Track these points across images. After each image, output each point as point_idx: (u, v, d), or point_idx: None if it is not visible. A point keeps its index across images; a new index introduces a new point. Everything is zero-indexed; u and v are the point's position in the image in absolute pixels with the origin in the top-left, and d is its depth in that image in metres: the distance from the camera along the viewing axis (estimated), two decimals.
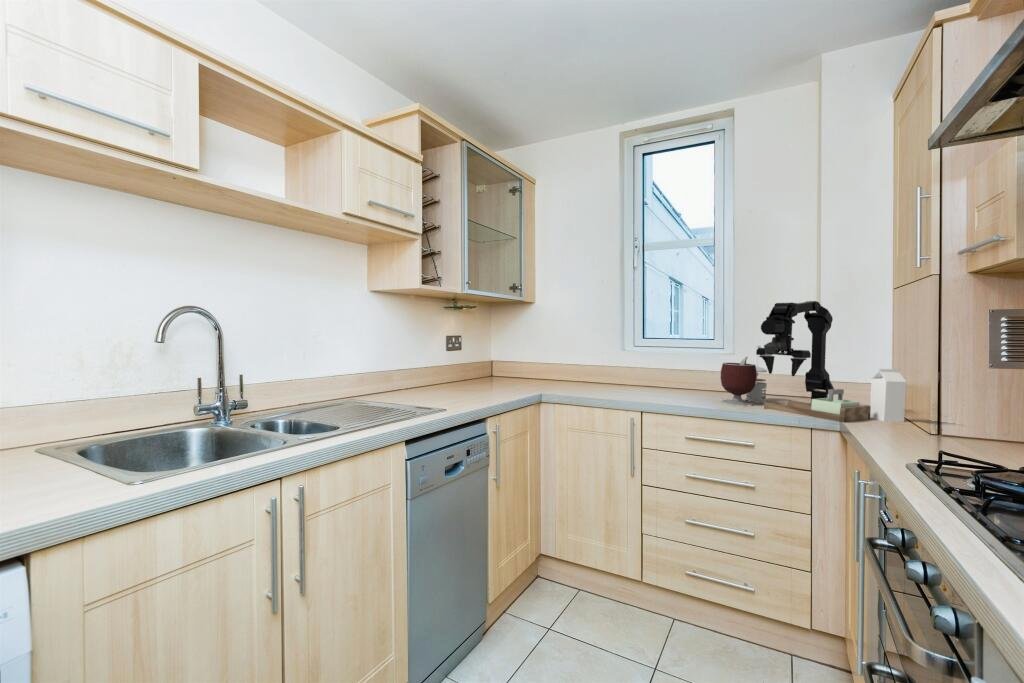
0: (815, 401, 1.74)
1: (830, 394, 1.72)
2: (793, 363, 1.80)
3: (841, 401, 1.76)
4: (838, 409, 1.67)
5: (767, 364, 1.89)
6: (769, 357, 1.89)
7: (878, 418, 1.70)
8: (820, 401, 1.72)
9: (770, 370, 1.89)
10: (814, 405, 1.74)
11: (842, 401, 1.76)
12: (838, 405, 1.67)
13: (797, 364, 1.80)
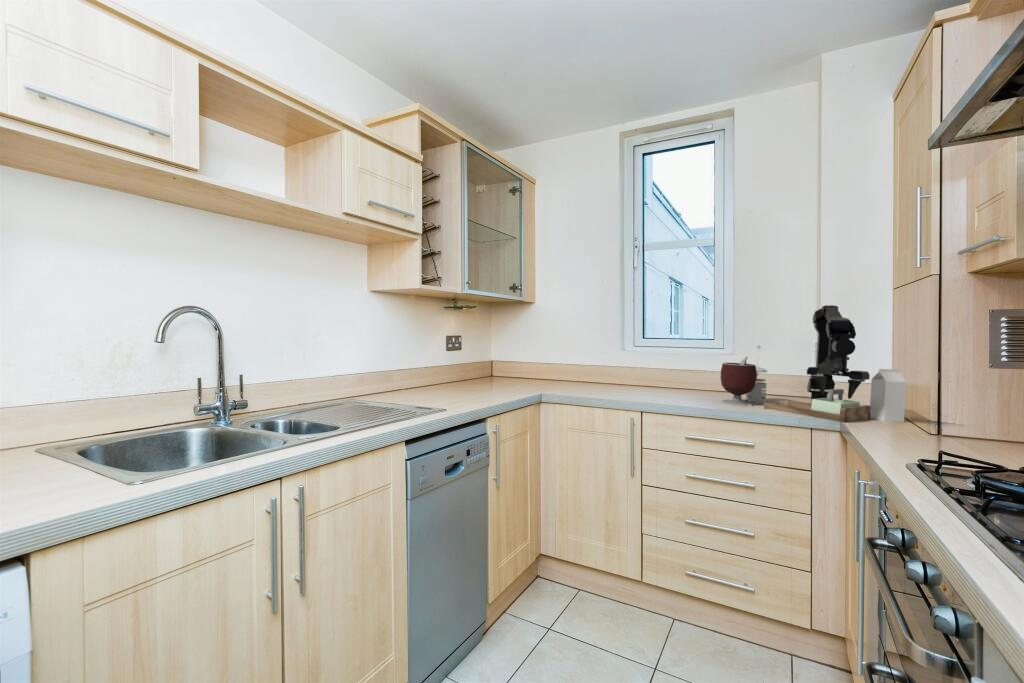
0: (815, 401, 1.74)
1: (830, 394, 1.72)
2: (850, 385, 1.68)
3: (841, 401, 1.76)
4: (838, 409, 1.67)
5: (819, 385, 1.77)
6: (821, 377, 1.77)
7: (878, 418, 1.70)
8: (820, 401, 1.72)
9: (822, 391, 1.77)
10: (814, 405, 1.74)
11: (842, 401, 1.76)
12: (838, 405, 1.67)
13: (854, 386, 1.68)
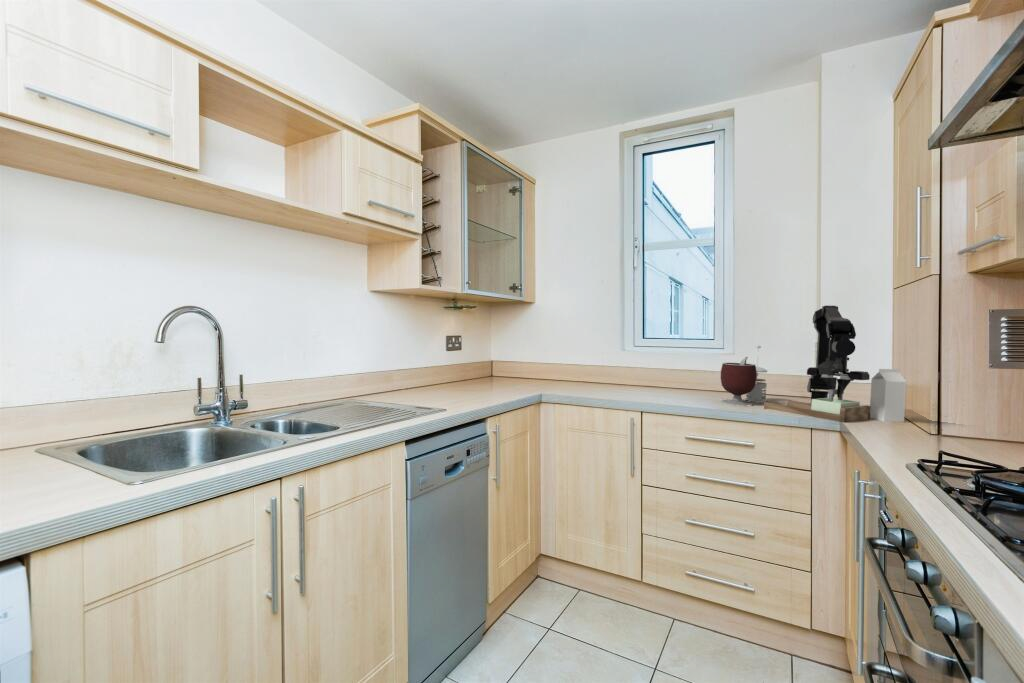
0: (815, 401, 1.74)
1: (830, 394, 1.72)
2: (839, 384, 1.71)
3: (841, 401, 1.76)
4: (838, 409, 1.67)
5: (829, 386, 1.74)
6: (831, 379, 1.74)
7: (878, 418, 1.70)
8: (820, 401, 1.72)
9: None
10: (814, 405, 1.74)
11: (842, 401, 1.76)
12: (838, 405, 1.67)
13: (843, 385, 1.71)
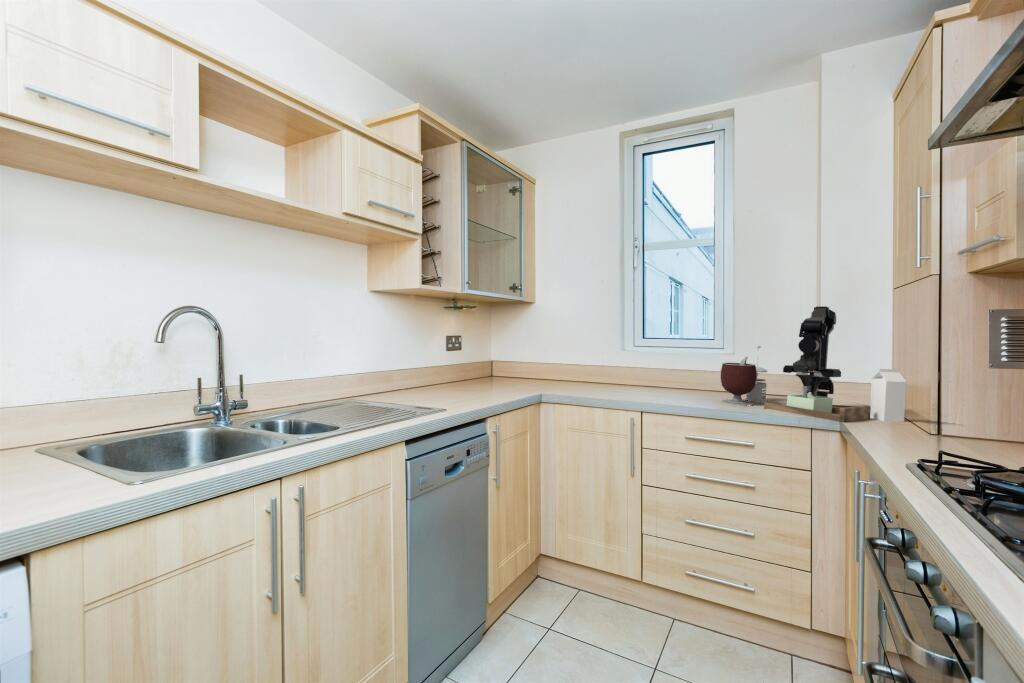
0: (790, 397, 1.82)
1: (804, 391, 1.80)
2: (813, 381, 1.79)
3: (815, 397, 1.84)
4: (811, 405, 1.75)
5: (804, 383, 1.82)
6: (806, 376, 1.82)
7: (878, 418, 1.70)
8: (795, 397, 1.80)
9: None
10: (789, 401, 1.82)
11: (816, 397, 1.84)
12: (811, 401, 1.75)
13: (817, 382, 1.80)
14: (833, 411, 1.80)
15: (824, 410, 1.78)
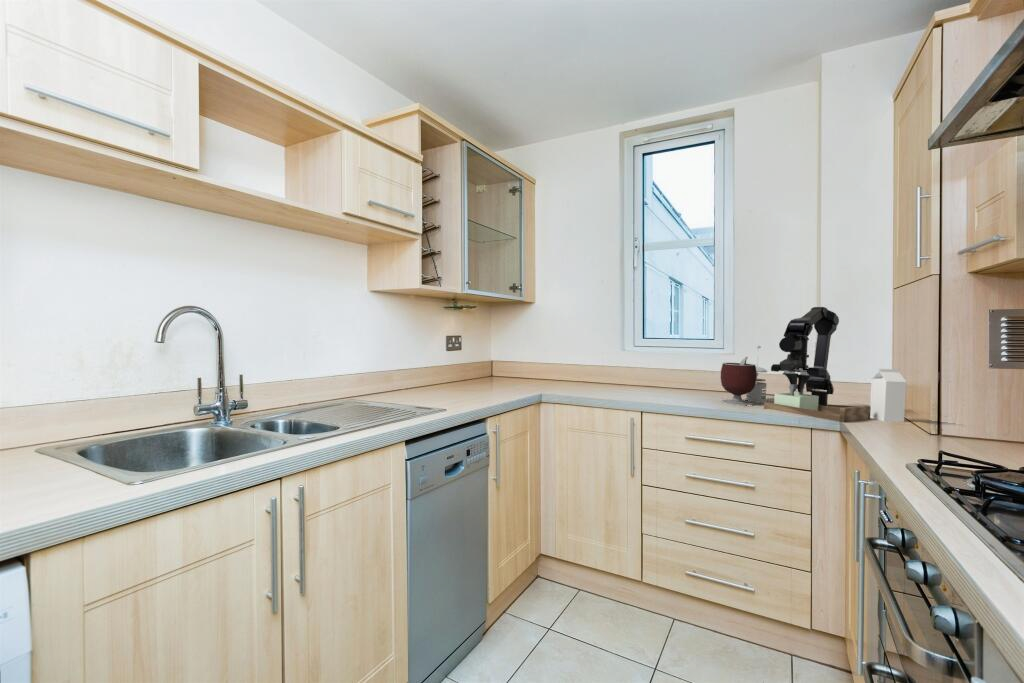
0: (777, 395, 1.86)
1: (791, 389, 1.84)
2: (799, 379, 1.83)
3: (802, 395, 1.89)
4: (797, 402, 1.79)
5: (791, 382, 1.87)
6: (793, 374, 1.87)
7: (878, 418, 1.70)
8: (782, 395, 1.85)
9: None
10: (777, 399, 1.87)
11: (803, 395, 1.89)
12: (797, 398, 1.79)
13: (803, 380, 1.84)
14: (833, 411, 1.80)
15: (810, 408, 1.82)
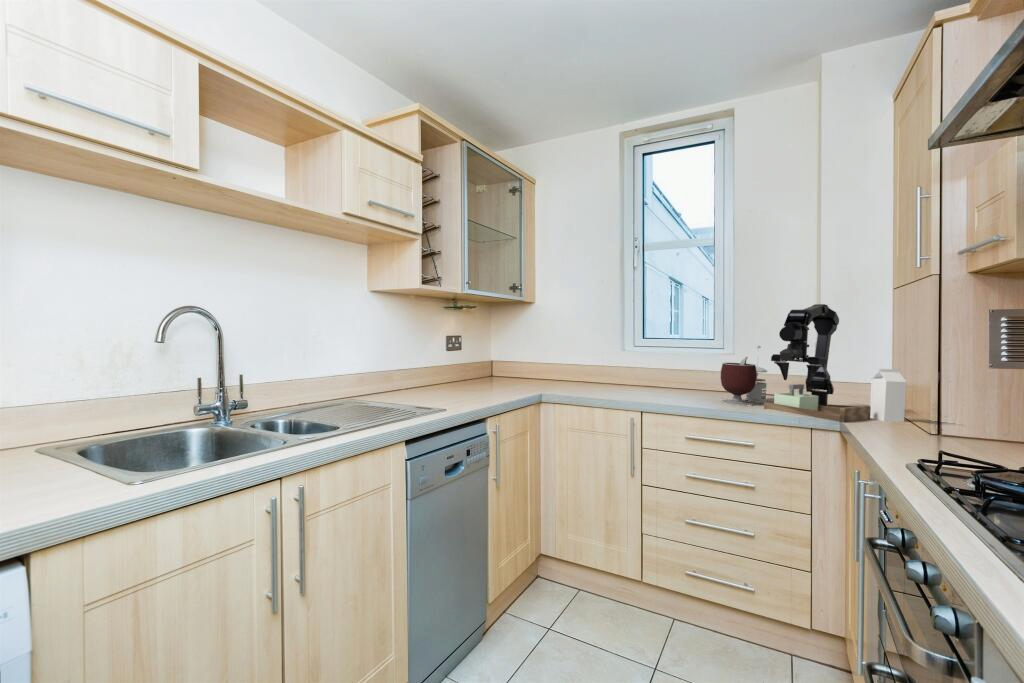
0: (777, 395, 1.86)
1: (791, 389, 1.84)
2: (809, 370, 1.80)
3: (802, 395, 1.89)
4: (797, 402, 1.79)
5: (782, 370, 1.90)
6: (784, 363, 1.90)
7: (878, 418, 1.70)
8: (782, 395, 1.85)
9: (785, 376, 1.90)
10: (776, 399, 1.87)
11: (803, 395, 1.89)
12: (797, 398, 1.79)
13: (813, 371, 1.81)
14: (833, 411, 1.80)
15: (810, 408, 1.82)
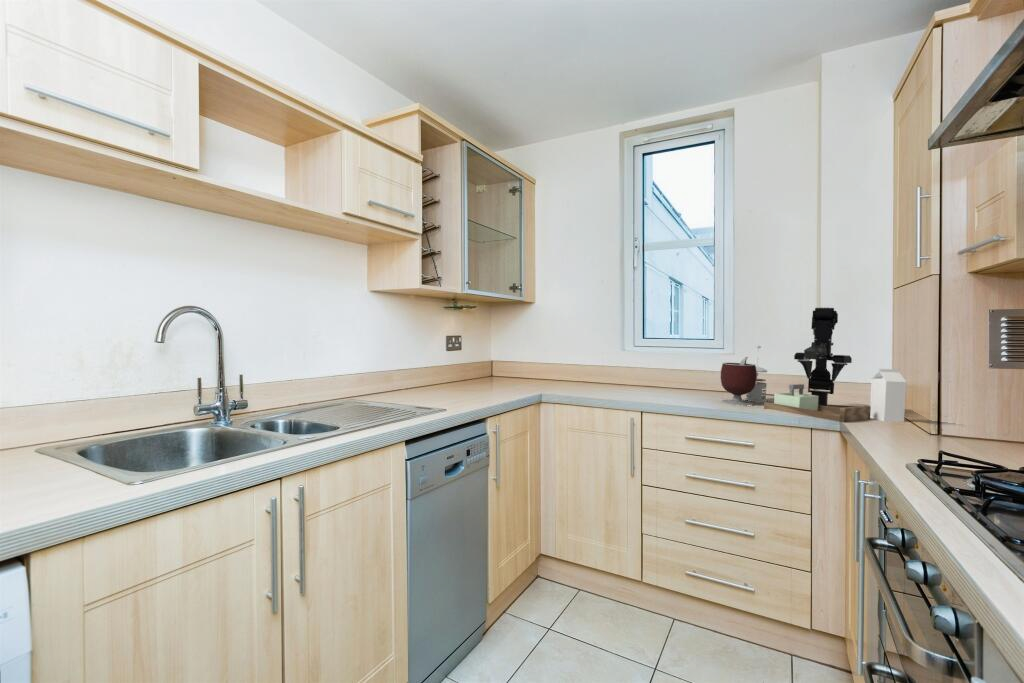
0: (777, 395, 1.86)
1: (791, 389, 1.84)
2: (834, 368, 1.80)
3: (802, 395, 1.89)
4: (797, 402, 1.79)
5: (805, 369, 1.89)
6: (807, 362, 1.90)
7: (878, 418, 1.70)
8: (782, 395, 1.85)
9: (809, 375, 1.89)
10: (776, 399, 1.87)
11: (803, 395, 1.89)
12: (797, 398, 1.79)
13: (837, 369, 1.80)
14: (833, 411, 1.80)
15: (810, 408, 1.82)
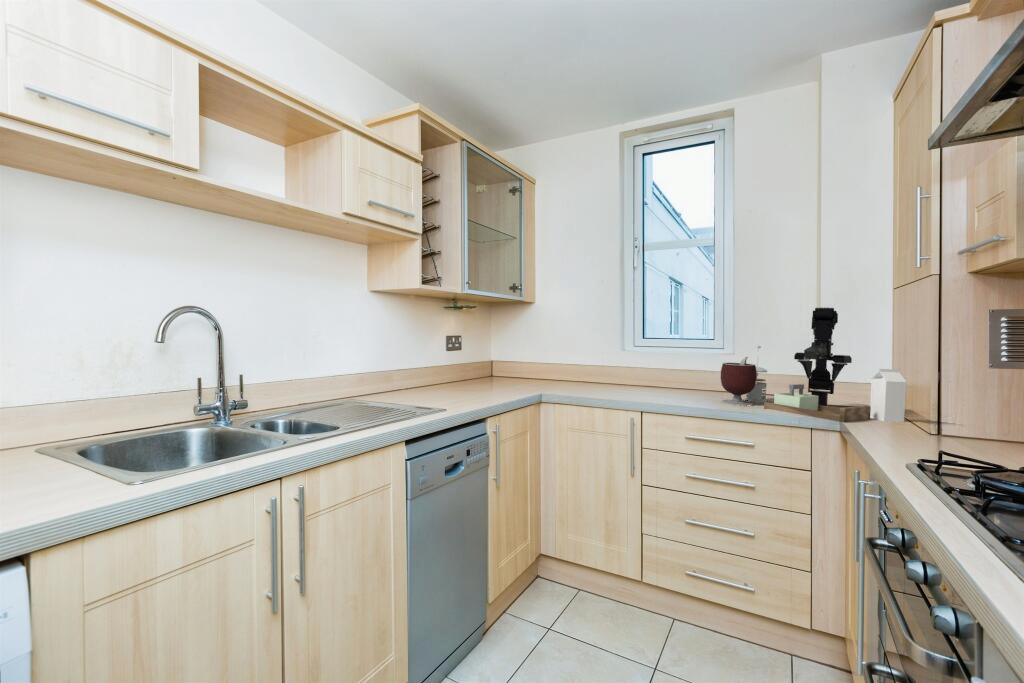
0: (777, 395, 1.86)
1: (791, 389, 1.84)
2: (834, 368, 1.80)
3: (802, 395, 1.89)
4: (797, 402, 1.79)
5: (806, 369, 1.89)
6: (807, 362, 1.90)
7: (878, 418, 1.70)
8: (782, 395, 1.85)
9: (809, 375, 1.89)
10: (776, 399, 1.87)
11: (803, 395, 1.89)
12: (797, 398, 1.79)
13: (838, 369, 1.80)
14: (833, 411, 1.80)
15: (810, 408, 1.82)
